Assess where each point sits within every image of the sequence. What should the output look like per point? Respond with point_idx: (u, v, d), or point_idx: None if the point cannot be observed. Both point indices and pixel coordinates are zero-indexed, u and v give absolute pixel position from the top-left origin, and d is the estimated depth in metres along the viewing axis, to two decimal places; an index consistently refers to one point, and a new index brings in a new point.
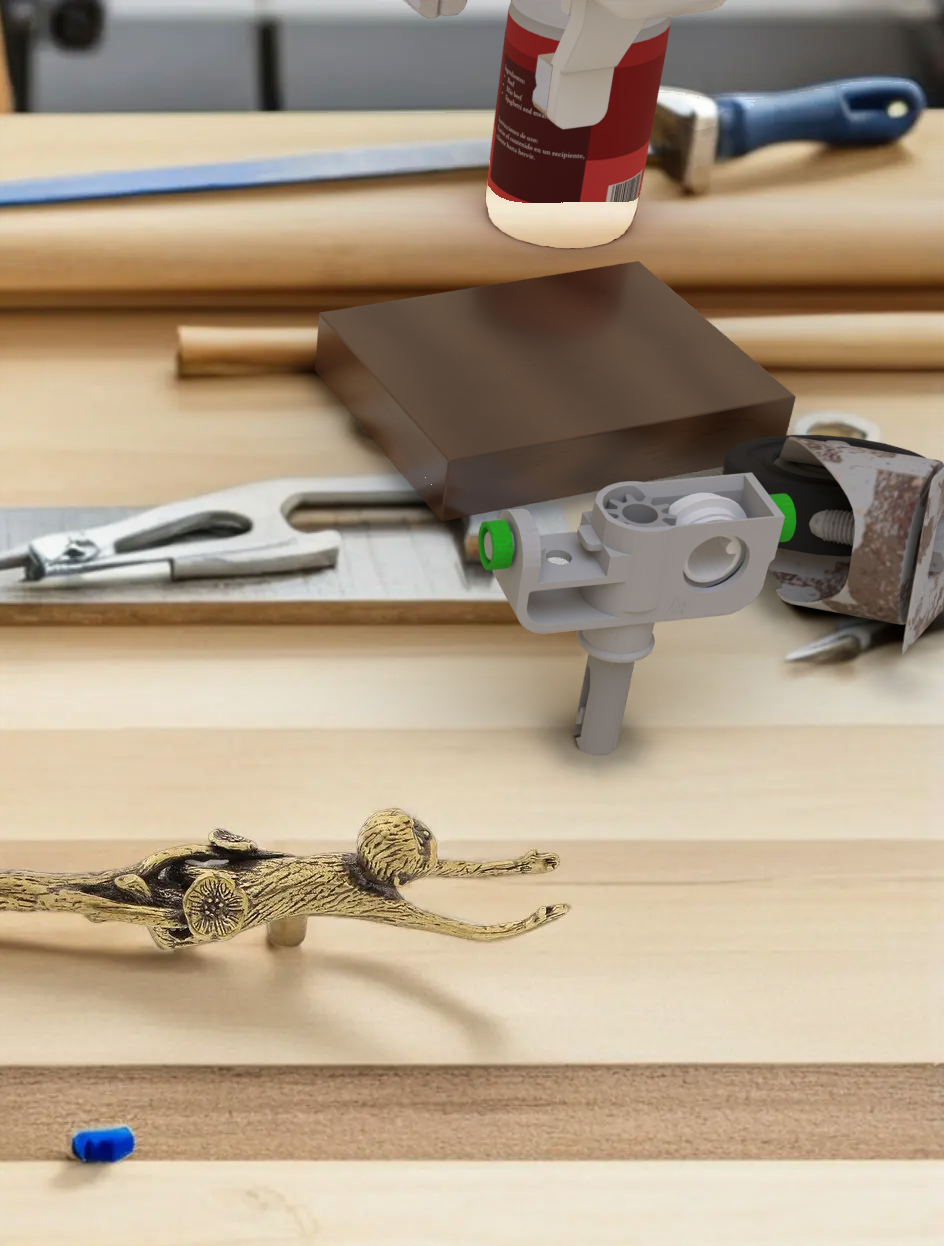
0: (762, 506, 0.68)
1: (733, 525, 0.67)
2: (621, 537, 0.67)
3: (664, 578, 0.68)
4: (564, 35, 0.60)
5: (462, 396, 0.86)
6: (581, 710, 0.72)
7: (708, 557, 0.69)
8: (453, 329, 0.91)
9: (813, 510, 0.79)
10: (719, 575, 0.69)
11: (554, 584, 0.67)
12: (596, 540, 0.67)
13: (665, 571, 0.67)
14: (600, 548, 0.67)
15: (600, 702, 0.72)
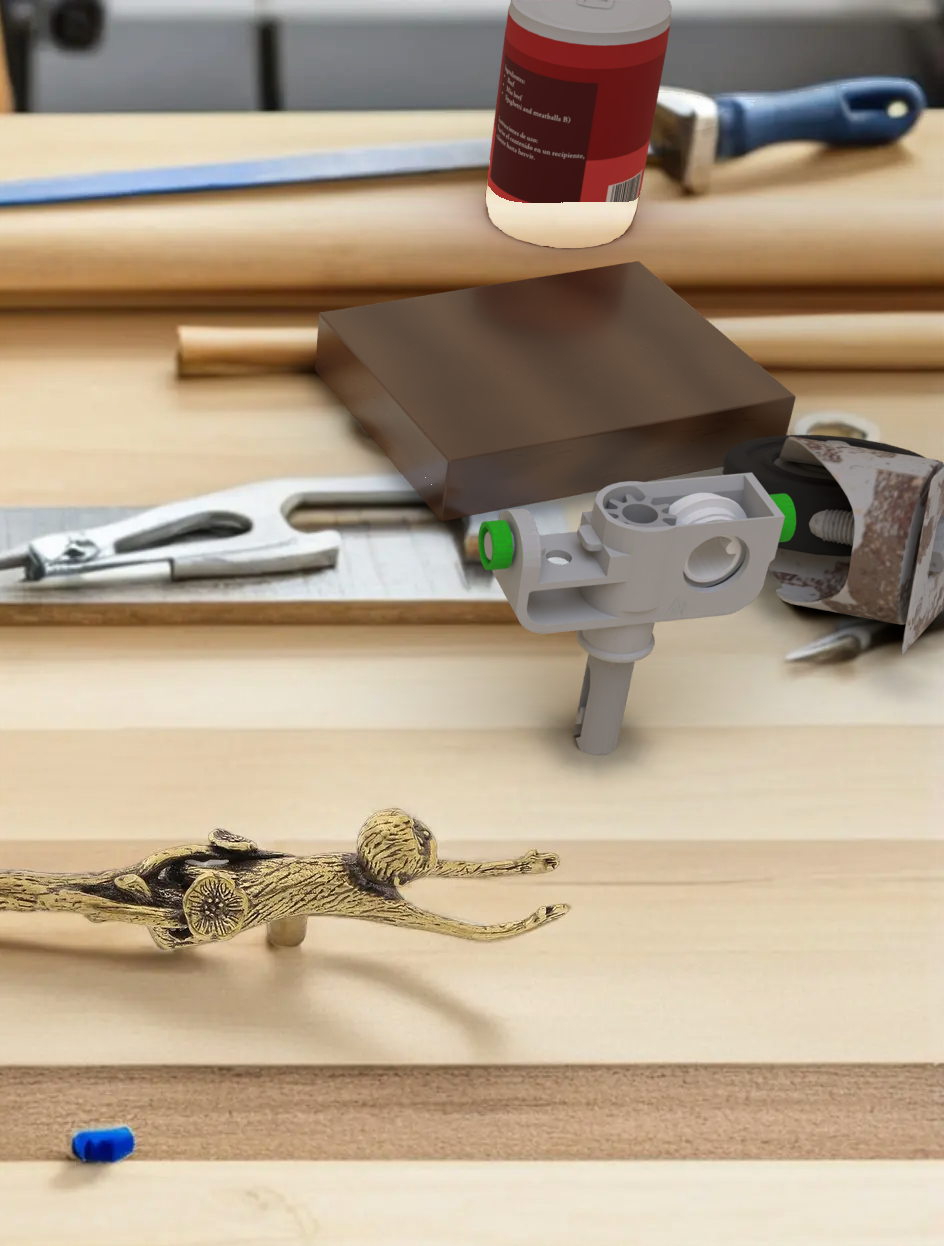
0: (762, 506, 0.68)
1: (733, 525, 0.67)
2: (621, 537, 0.67)
3: (664, 578, 0.68)
4: None
5: (462, 396, 0.86)
6: (581, 710, 0.72)
7: (708, 557, 0.69)
8: (453, 329, 0.91)
9: (813, 510, 0.79)
10: (719, 575, 0.69)
11: (554, 584, 0.67)
12: (596, 540, 0.67)
13: (665, 571, 0.67)
14: (600, 548, 0.67)
15: (600, 702, 0.72)
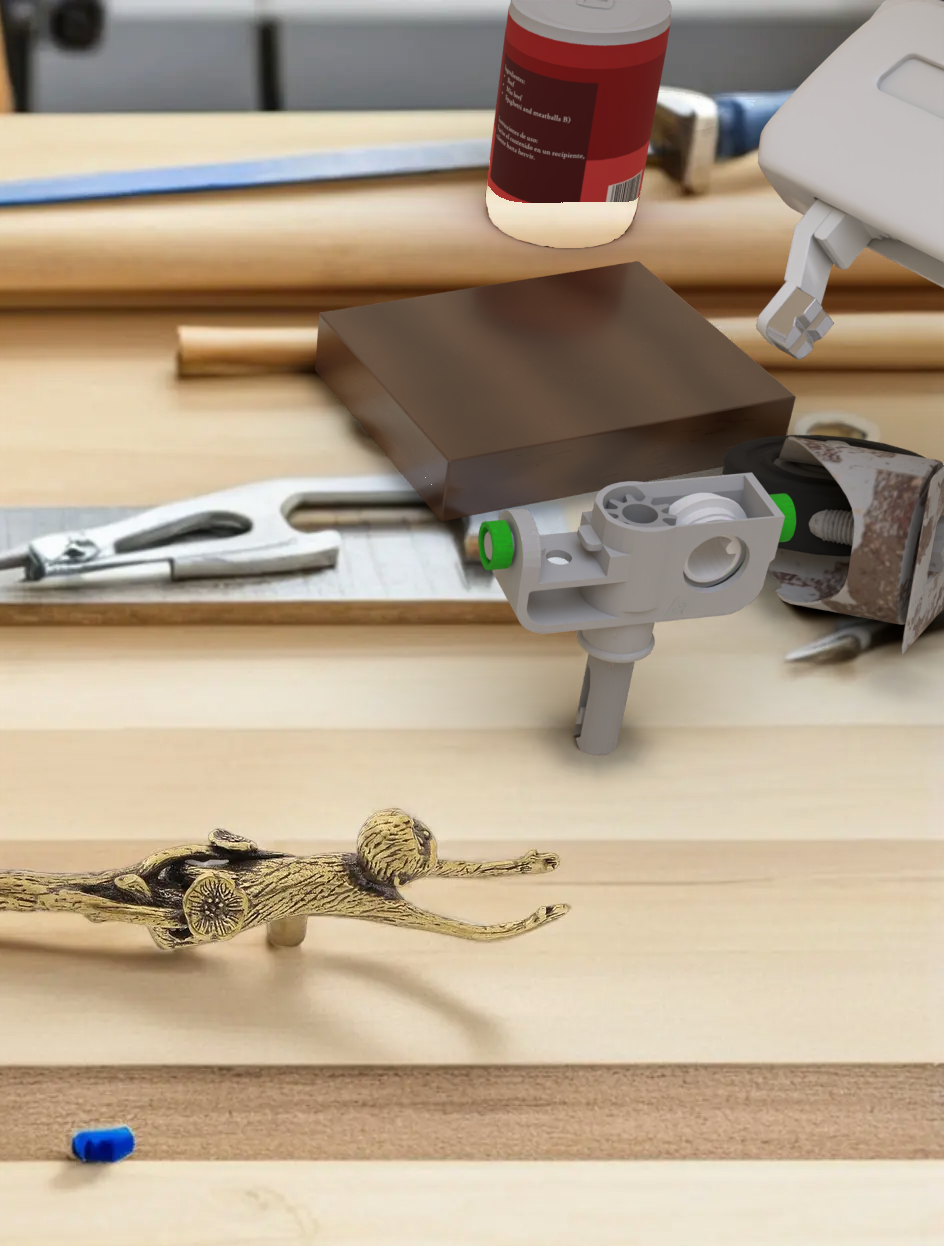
0: (762, 506, 0.68)
1: (733, 525, 0.67)
2: (621, 537, 0.67)
3: (664, 578, 0.68)
4: None
5: (462, 396, 0.86)
6: (581, 710, 0.72)
7: (708, 557, 0.69)
8: (453, 329, 0.91)
9: (813, 510, 0.79)
10: (719, 575, 0.69)
11: (554, 584, 0.67)
12: (596, 540, 0.67)
13: (665, 571, 0.67)
14: (600, 548, 0.67)
15: (600, 702, 0.72)
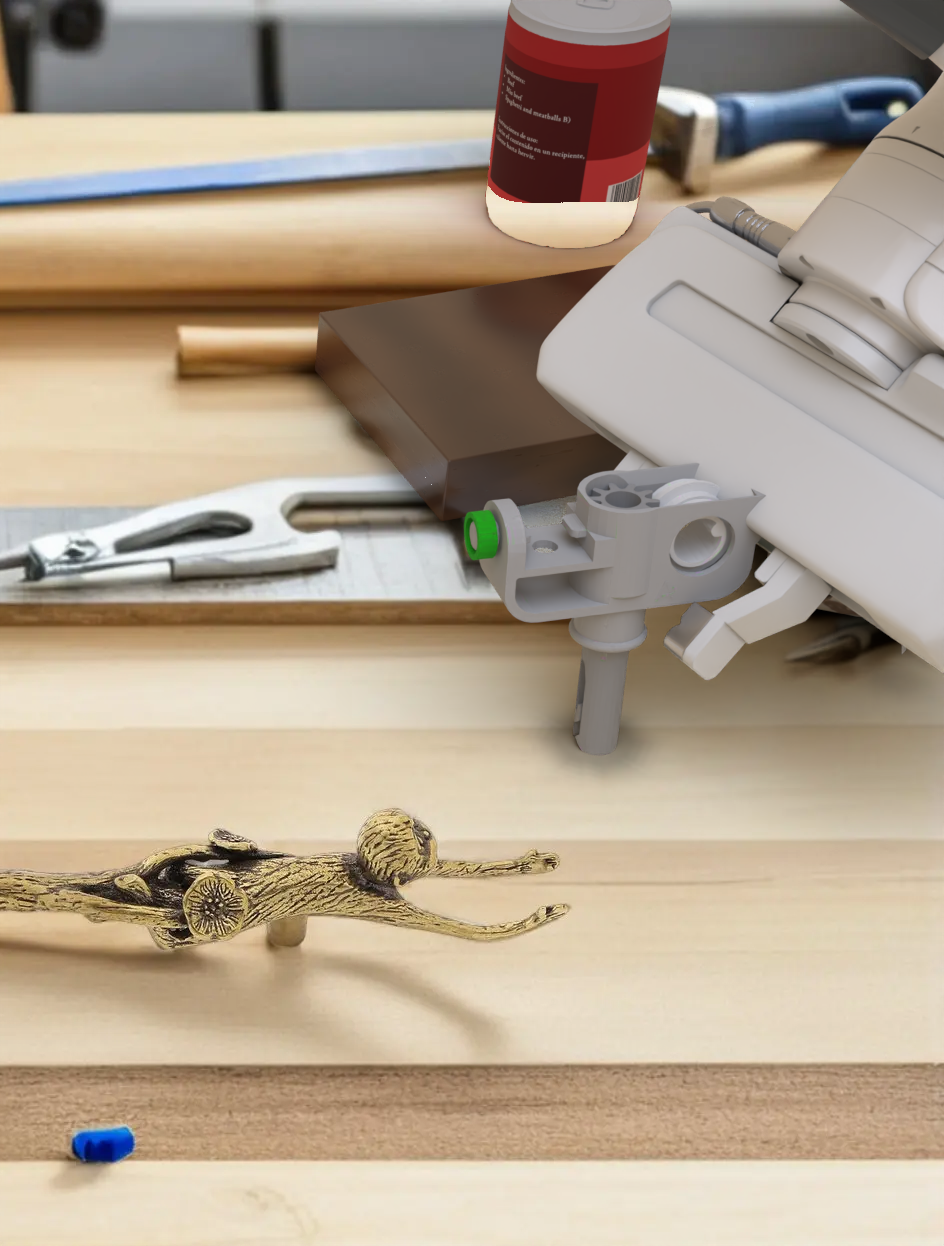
0: None
1: (716, 505, 0.67)
2: (604, 520, 0.67)
3: (651, 562, 0.68)
4: None
5: (462, 396, 0.86)
6: (578, 707, 0.73)
7: (695, 543, 0.70)
8: (453, 329, 0.91)
9: None
10: (706, 559, 0.69)
11: (541, 570, 0.67)
12: (581, 527, 0.68)
13: (651, 554, 0.68)
14: (585, 535, 0.68)
15: (596, 696, 0.72)
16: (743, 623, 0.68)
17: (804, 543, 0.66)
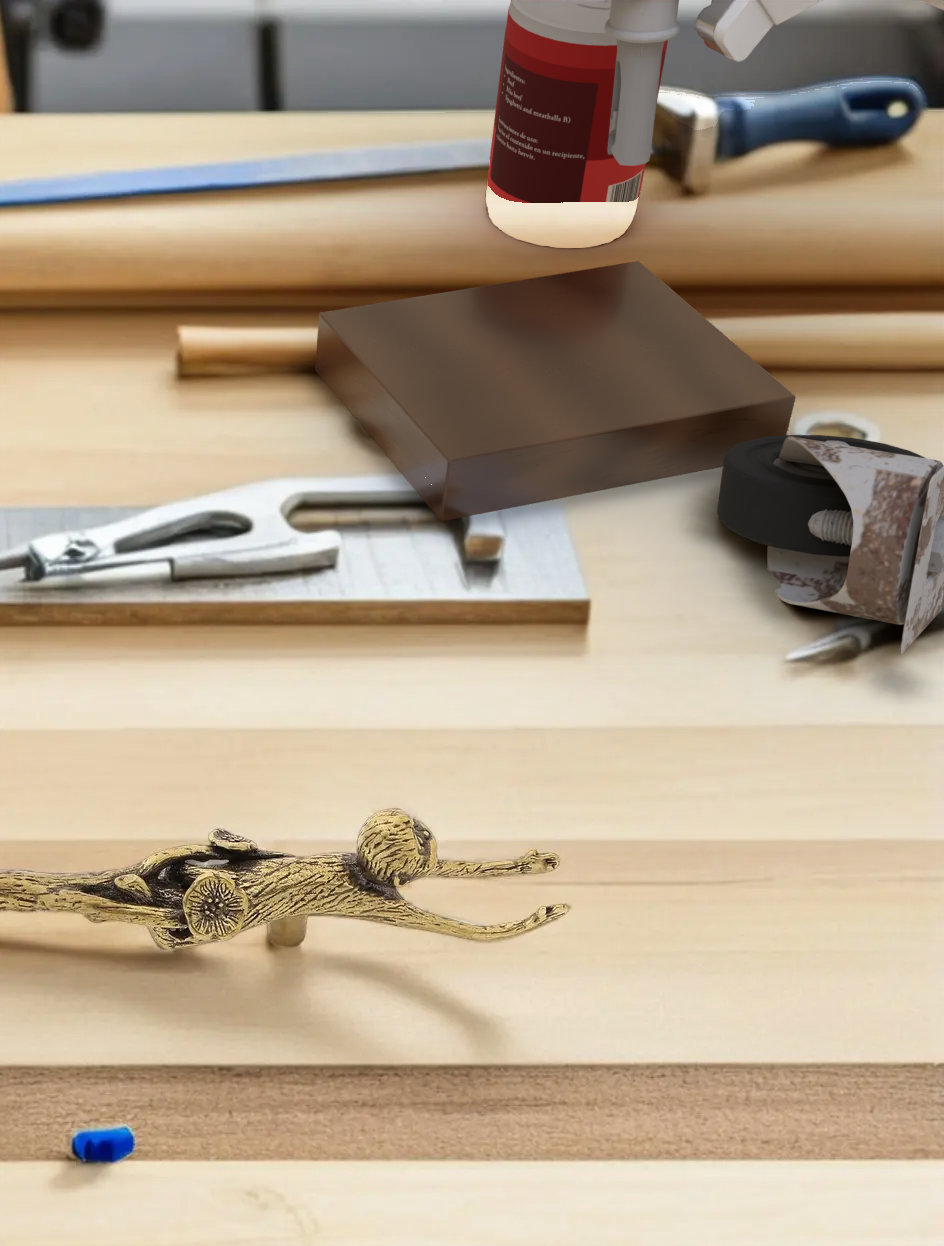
0: None
1: None
2: None
3: None
4: None
5: (462, 396, 0.86)
6: (613, 114, 0.76)
7: None
8: (453, 329, 0.91)
9: (812, 510, 0.79)
10: None
11: None
12: None
13: None
14: None
15: (632, 97, 0.75)
16: None
17: None
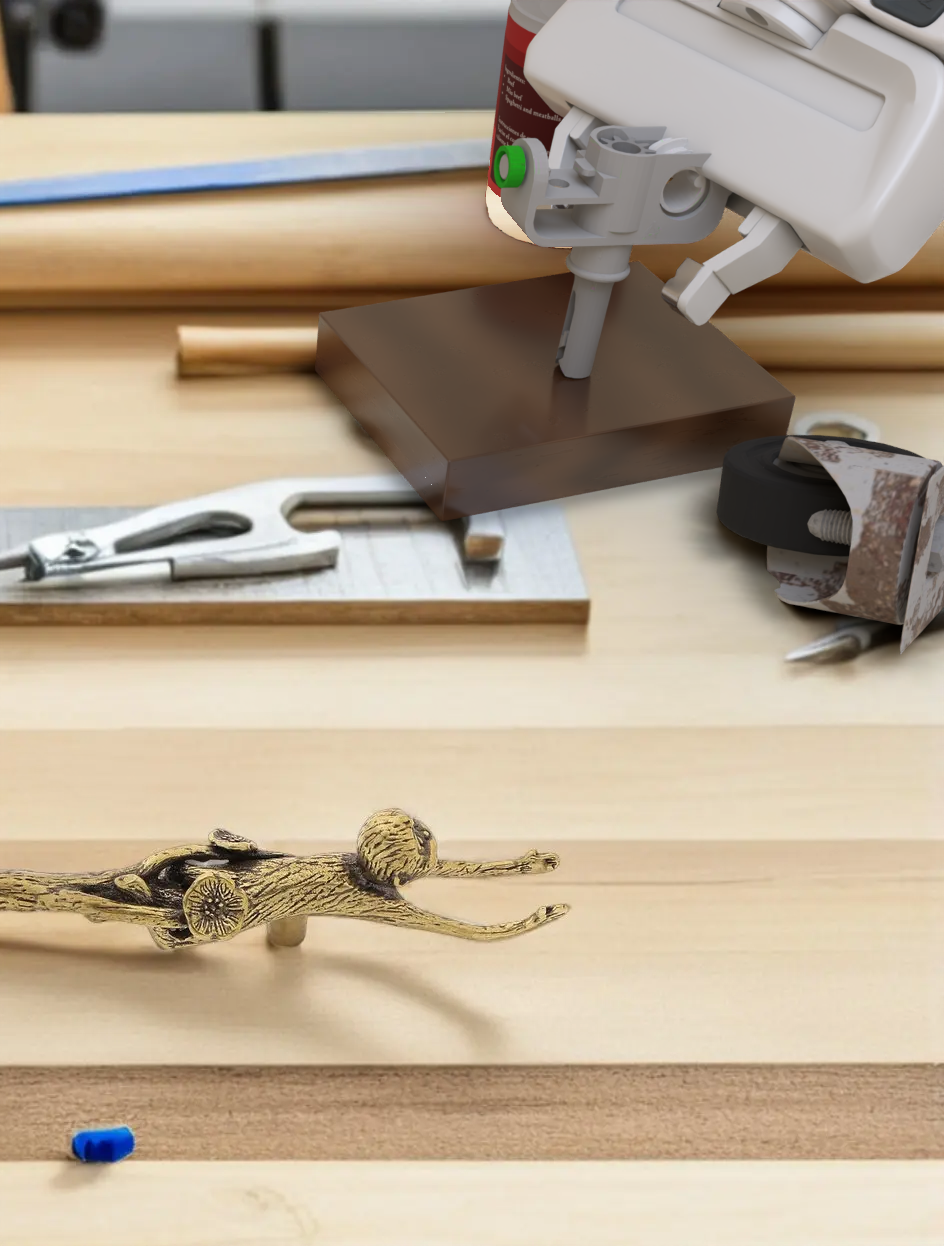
0: None
1: (702, 157, 0.81)
2: (613, 161, 0.81)
3: (644, 203, 0.82)
4: None
5: (462, 396, 0.86)
6: (564, 333, 0.87)
7: (677, 195, 0.84)
8: (453, 329, 0.91)
9: (811, 510, 0.79)
10: (687, 207, 0.83)
11: (557, 200, 0.81)
12: (591, 167, 0.82)
13: (646, 196, 0.82)
14: (593, 174, 0.81)
15: (582, 323, 0.86)
16: (728, 271, 0.81)
17: (743, 176, 0.80)
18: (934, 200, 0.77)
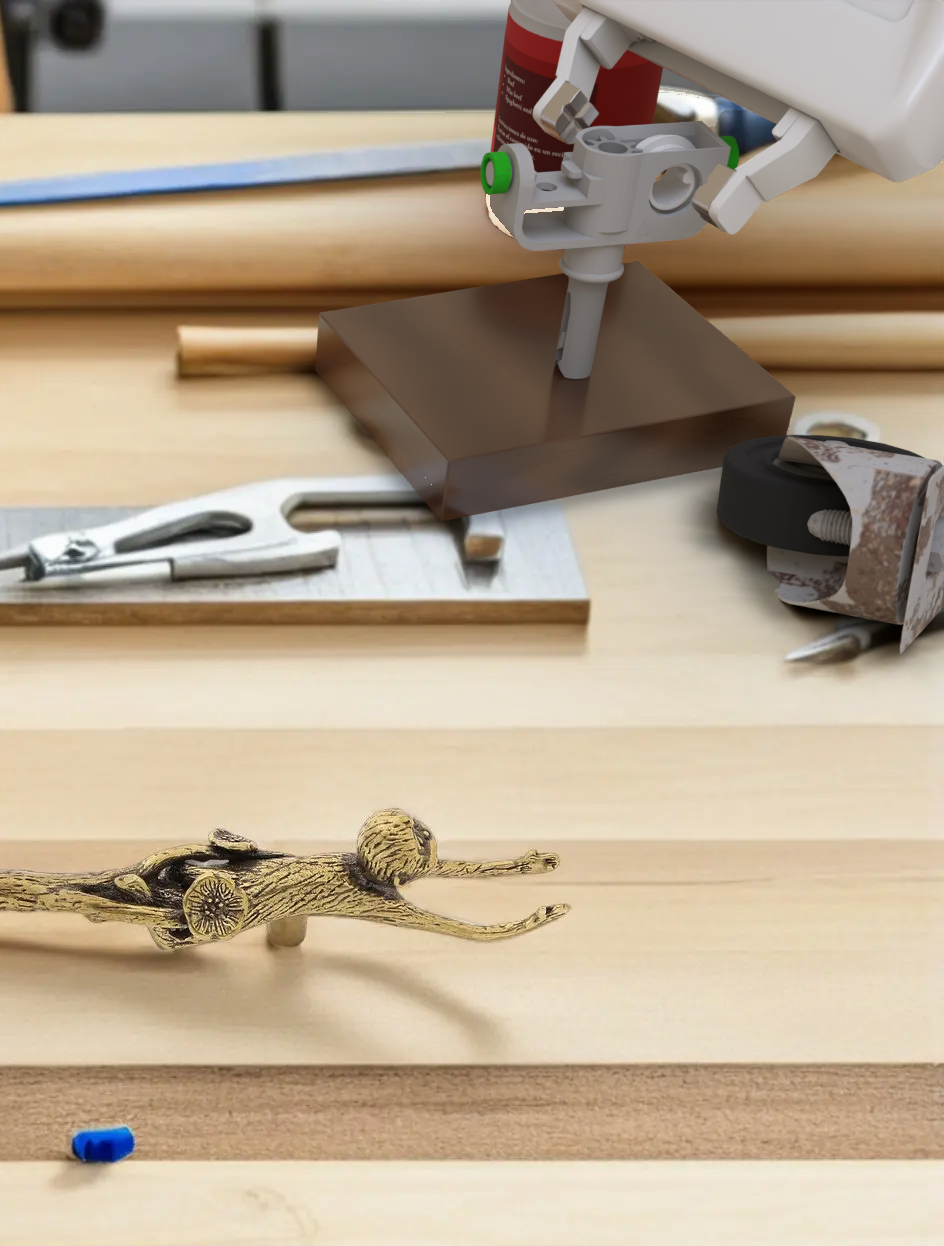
0: (711, 143, 0.82)
1: (689, 154, 0.81)
2: (599, 163, 0.81)
3: (633, 202, 0.82)
4: None
5: (462, 396, 0.86)
6: (562, 335, 0.87)
7: (667, 192, 0.84)
8: (453, 329, 0.91)
9: (811, 510, 0.79)
10: (677, 203, 0.83)
11: (544, 204, 0.81)
12: (577, 169, 0.82)
13: (634, 195, 0.82)
14: (581, 176, 0.82)
15: (579, 324, 0.86)
16: (762, 176, 0.77)
17: (769, 73, 0.77)
18: None
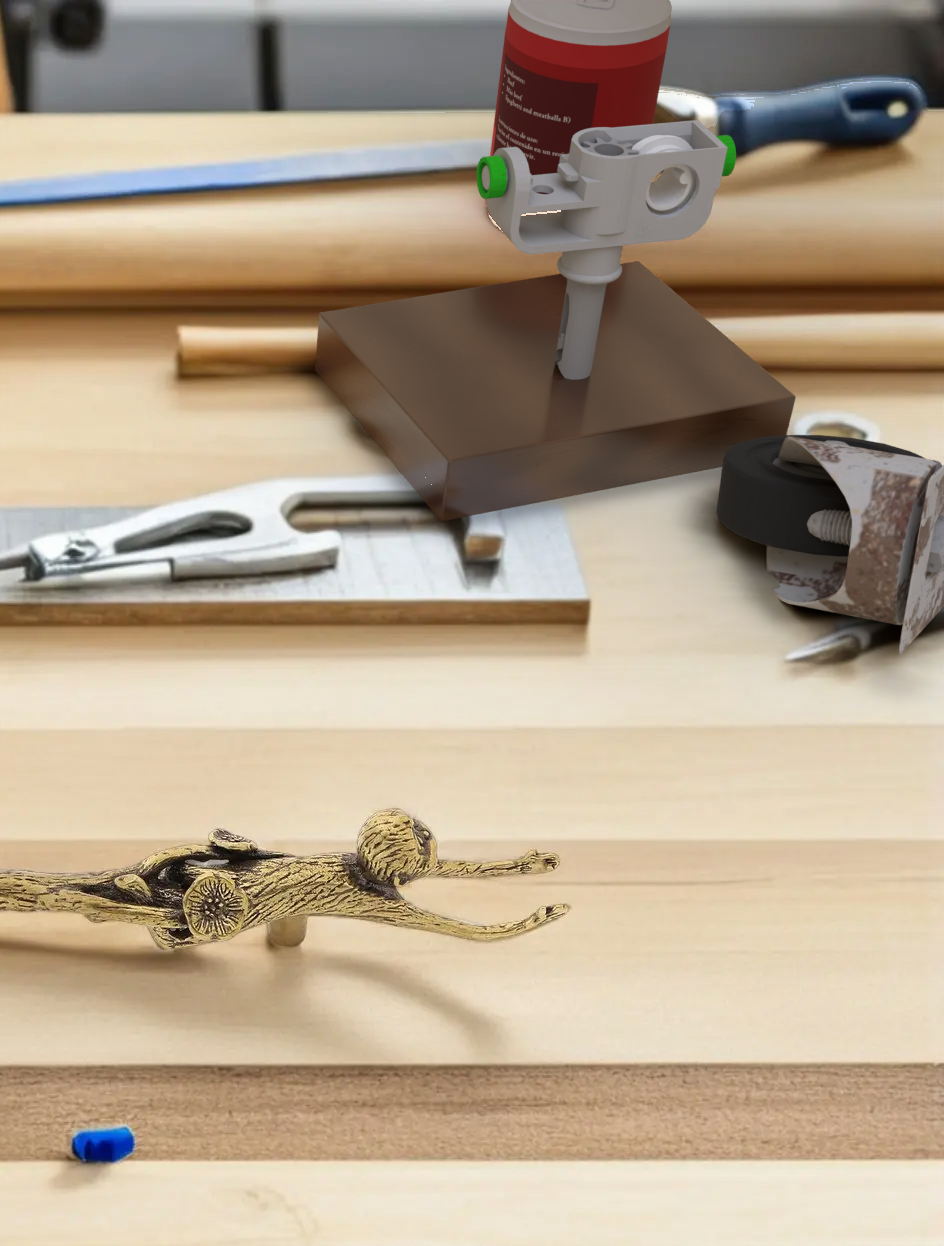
0: (708, 143, 0.82)
1: (685, 155, 0.81)
2: (595, 165, 0.81)
3: (630, 204, 0.82)
4: None
5: (462, 396, 0.86)
6: (561, 336, 0.87)
7: (664, 192, 0.83)
8: (453, 329, 0.91)
9: (811, 510, 0.79)
10: (674, 204, 0.83)
11: (541, 207, 0.81)
12: (574, 172, 0.82)
13: (631, 196, 0.82)
14: (577, 179, 0.81)
15: (578, 325, 0.86)
16: None
17: None
18: None
